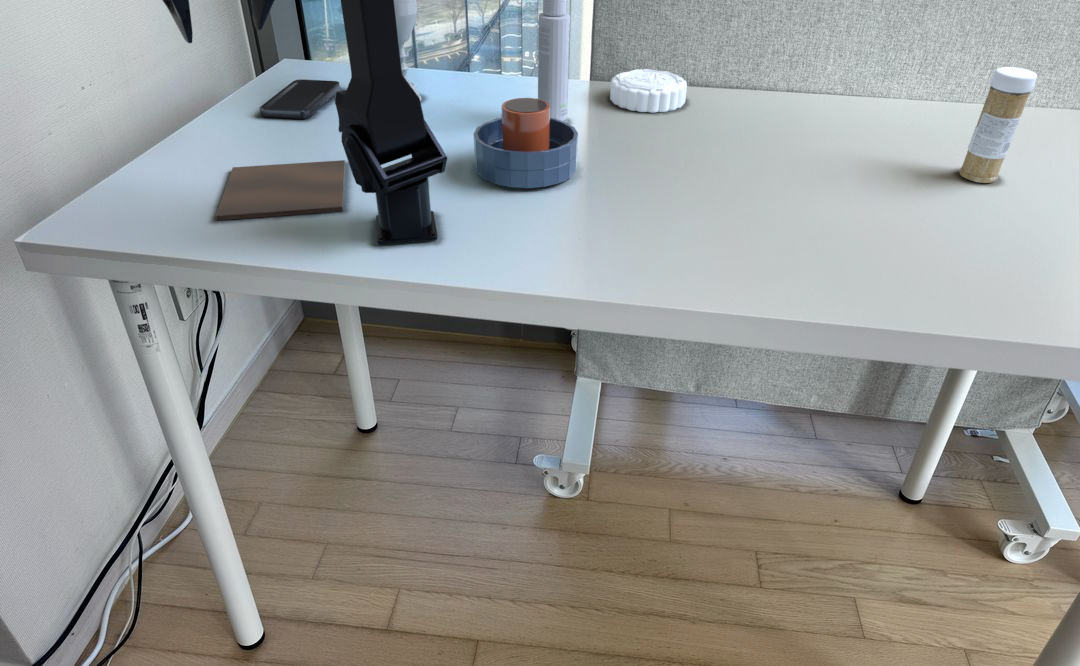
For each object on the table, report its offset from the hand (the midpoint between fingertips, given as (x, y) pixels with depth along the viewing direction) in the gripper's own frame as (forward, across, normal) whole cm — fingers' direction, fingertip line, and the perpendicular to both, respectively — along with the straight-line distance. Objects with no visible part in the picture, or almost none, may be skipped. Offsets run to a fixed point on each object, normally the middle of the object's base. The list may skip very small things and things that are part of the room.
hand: (224, 35), depth 93 cm
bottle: (+10, -37, +24) cm, 46 cm away
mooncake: (+9, -55, +28) cm, 63 cm away
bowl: (+8, -22, +34) cm, 41 cm away
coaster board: (+12, +3, +17) cm, 21 cm away
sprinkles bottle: (-1, -61, +76) cm, 97 cm away
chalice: (+15, -28, +1) cm, 32 cm away
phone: (+17, -16, -9) cm, 25 cm away
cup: (+7, -22, +34) cm, 41 cm away
